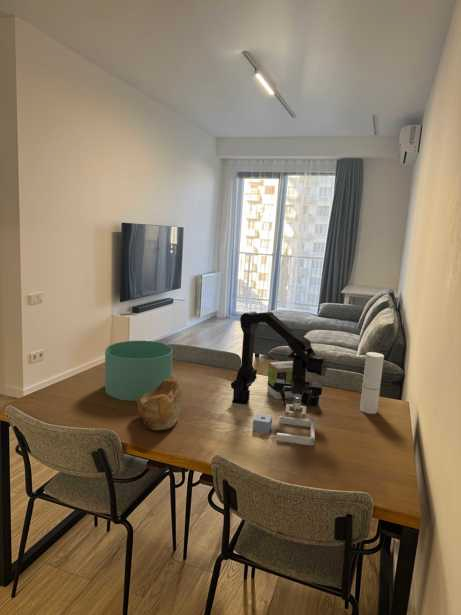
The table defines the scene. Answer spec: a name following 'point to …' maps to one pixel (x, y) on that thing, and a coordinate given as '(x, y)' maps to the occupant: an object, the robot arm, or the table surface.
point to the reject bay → (297, 438)
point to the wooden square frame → (295, 414)
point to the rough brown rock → (161, 405)
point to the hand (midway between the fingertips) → (295, 407)
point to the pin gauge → (296, 404)
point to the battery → (306, 397)
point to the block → (262, 423)
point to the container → (136, 368)
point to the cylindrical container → (371, 382)
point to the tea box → (280, 372)
